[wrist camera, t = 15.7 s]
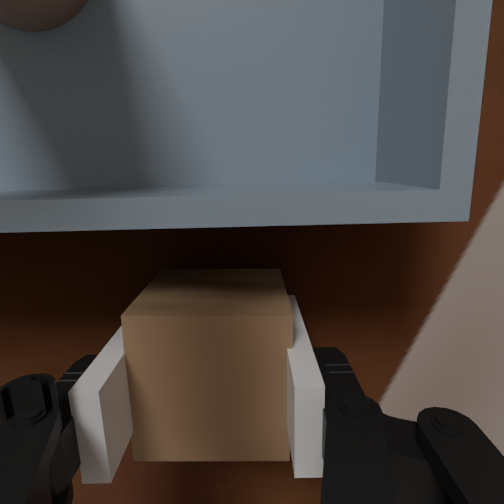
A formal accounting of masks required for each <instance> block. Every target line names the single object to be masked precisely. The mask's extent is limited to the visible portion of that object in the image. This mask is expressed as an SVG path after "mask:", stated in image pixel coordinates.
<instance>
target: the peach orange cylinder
mask: <svg viewBox="0 0 504 504" xmlns="http://www.w3.org/2000/svg"><path fill="white" fill-rule="evenodd" d="M87 1H88V0H0V23H2V24H4V25H6V26H8V27H11V28H15V29H18V30H23V31H34V32H38V31H46V30H50V29H54V28H56V27H59V26H61V25H63V24H65V23H66V22H68V21H70V20H71V19H72V18H73V17H75V16H76V15H77V14H78V13H79V12H80V11H81V9H82V8H83V7H84V6H85V4H86V3H87Z"/></svg>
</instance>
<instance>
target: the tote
mask: <svg viewBox="0 0 504 504" xmlns="http://www.w3.org/2000/svg"><path fill="white" fill-rule="evenodd" d="M492 1H493V0H88V1H87V3H86V4H85V6H84V7H83V8H82V9H81V11H80V12H79V13H78V14H77V15H76V16H75V17H73V18H72V19H71V20H70V21H68V22H66V23H65V24H63V25H61V26H59V27H56V28H54V29H50V30H46V31H38V32H34V31H23V30H18V29H15V28H11V27H8V26H6V25H4V24H2V23H0V233H10V232H50V231H90V230H130V229H170V228H210V227H250V226H290V225H330V224H370V223H410V222H450V221H469V213H470V204H471V195H472V186H473V176H474V167H475V158H476V149H477V139H478V130H479V121H480V112H481V102H482V93H483V84H484V75H485V65H486V56H487V47H488V38H489V28H490V19H491V10H492Z"/></svg>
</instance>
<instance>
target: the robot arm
mask: <svg viewBox="0 0 504 504" xmlns="http://www.w3.org/2000/svg"><path fill="white" fill-rule="evenodd" d="M288 298H289V302H290V305H291V309H292V312H293V347H292V349H287V428H288V435H289V442H290V450H291V457H292V464H293V471H294V478H317V477H322V490H321V504H504V456H503V455H502V454H501V453H500V452H499V450H498V449H497V448H496V447H495V446H494V444H493V443H492V442H491V441H490V440H489V439H488V437H487V436H486V435H485V434H484V433H483V432H482V430H481V429H480V428H479V427H478V426H477V425H476V424H475V423H474V422H473V421H472V420H471V419H470V418H468V417H467V416H465V415H463V414H461V413H459V412H457V411H454V410H450V409H447V408H440V407H431V408H425V409H424V410H422V411H421V412H419V414H418V417H417V422H414V421H409V420H404V419H398V418H395V417H391V416H388V415H386V414H383V413H382V410H381V408H380V406H379V404H377V403H376V402H375V401H374V400H373V399H371V398H369V397H367V396H365V394H364V392H363V390H362V388H361V386H360V384H359V382H358V380H357V378H356V376H355V374H354V372H353V370H352V368H351V366H350V365H349V362H348V360H347V358H346V356H345V354H343V353H342V352H341V351H339V350H338V349H337V348H335V347H325V348H312V346H311V343H310V340H309V337H308V334H307V331H306V328H305V325H304V322H303V319H302V316H301V313H300V310H299V307H298V304H297V301H296V298H295V295H288ZM0 419H1V423H0V504H72V500H73V485H72V478H73V477H74V475H75V473H76V471H77V470H78V468H79V466H80V471H81V478H82V484H89V483H111V482H112V479H113V477H114V475H115V473H116V470H117V468H118V466H119V463H120V461H121V459H122V456H123V454H124V452H125V450H126V447H127V445H128V443H129V440H130V438H131V436H132V434H133V423H132V414H131V406H130V397H129V388H128V379H127V371H126V362H125V353H124V346H123V335H122V325H121V327H120V328H119V329H118V331H117V332H116V333H115V334H114V336H113V337H112V338H111V339H110V341H109V342H108V343H107V344H106V346H105V347H104V348H103V349H102V351H101V352H100V353H99V354H98V355H86V356H84V357H83V358H81V359H80V360H78V361H76V362H75V363H74V364H73V365H72V366H71V367H70V368H69V369H68V370H67V371H66V374H64V375H63V376H62V377H61V378H60V379H59V381H58V382H57V383H55V378H54V377H53V376H51V375H49V374H44V373H42V374H31V375H27V376H22V377H20V378H17V379H14V380H12V381H10V382H8V383H6V384H5V385H3V386H1V387H0ZM323 463H324V464H323Z"/></svg>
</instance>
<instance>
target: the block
mask: <svg viewBox="0 0 504 504" xmlns="http://www.w3.org/2000/svg"><path fill="white" fill-rule="evenodd" d="M121 323H122V335H123V346H124V353H125V362H126V371H127V379H128V388H129V397H130V406H131V414H132V423H133V434H132V436H131V438H132V450H133V461H289V460H290V442H289V435H288V428H287V349H292V347H293V312H292V309H291V305H290V302H289V298H288V295H287V291H286V288H285V284H284V281H283V277H282V274H281V270H280V269H161V270H160V271H159V272H158V273H157V274H156V276H155V277H154V278H153V279H152V280H151V281H150V282H149V284H148V285H147V286H146V287H145V288H144V289H143V291H142V292H141V293H140V294H139V295H138V296H137V298H136V299H135V300H134V301H133V302H132V303H131V304H130V306H129V307H128V308H127V309H126V310H125V311H124V313H123V314H122V315H121Z"/></svg>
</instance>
